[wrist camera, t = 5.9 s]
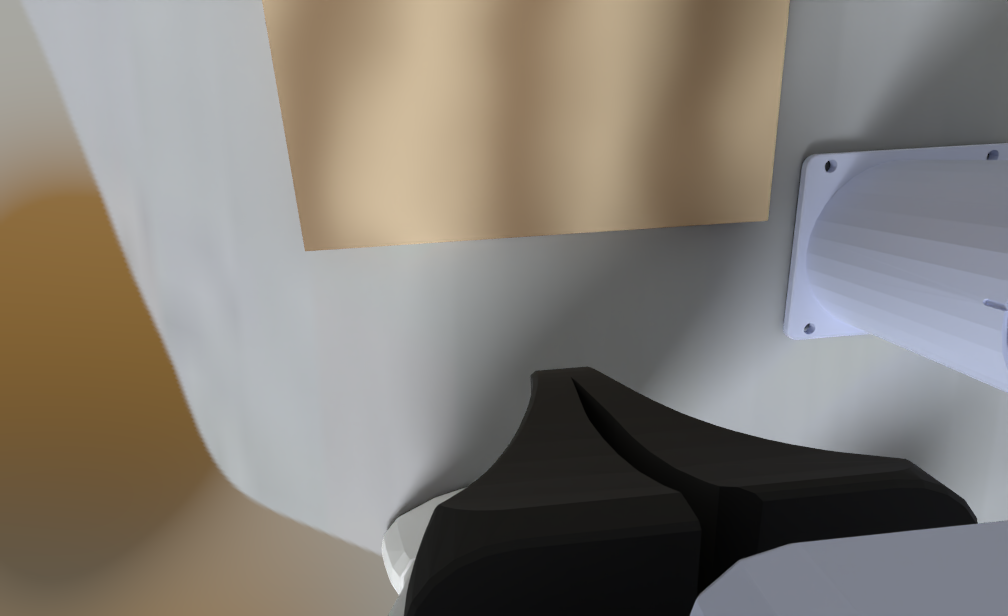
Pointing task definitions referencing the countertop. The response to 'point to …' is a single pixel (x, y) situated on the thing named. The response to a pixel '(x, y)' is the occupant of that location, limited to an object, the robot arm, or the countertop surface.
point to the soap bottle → (406, 547)
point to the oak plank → (525, 115)
